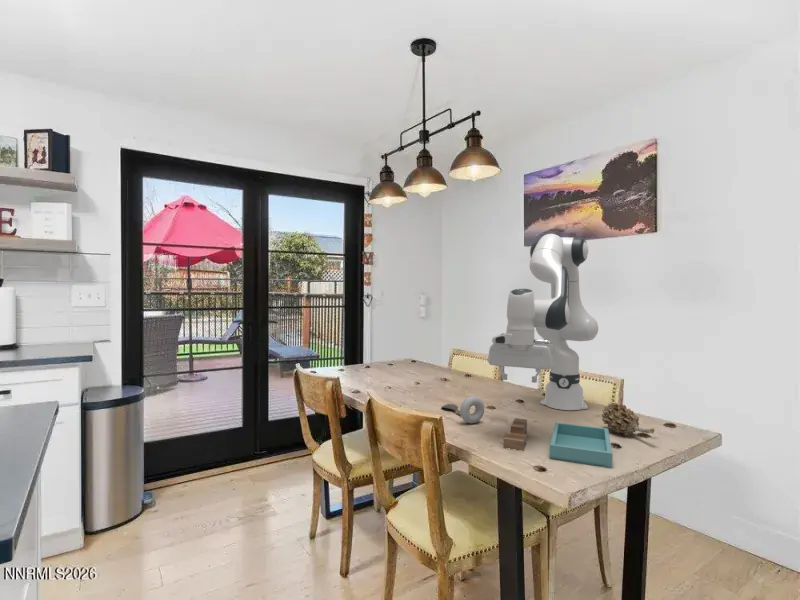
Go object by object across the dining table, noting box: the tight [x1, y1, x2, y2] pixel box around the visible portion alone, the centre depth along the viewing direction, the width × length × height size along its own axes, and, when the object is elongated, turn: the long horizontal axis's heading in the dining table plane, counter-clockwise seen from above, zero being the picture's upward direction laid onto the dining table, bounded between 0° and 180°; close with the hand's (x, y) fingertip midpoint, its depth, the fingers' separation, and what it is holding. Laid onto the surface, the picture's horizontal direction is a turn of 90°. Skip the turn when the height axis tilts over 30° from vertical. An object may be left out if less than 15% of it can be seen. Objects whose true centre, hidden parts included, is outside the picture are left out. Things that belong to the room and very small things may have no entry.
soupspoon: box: [440, 403, 460, 414], centre depth 176 cm, size 22×3×7 cm
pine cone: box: [601, 402, 656, 437], centre depth 152 cm, size 22×10×10 cm, turn 21°
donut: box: [459, 395, 485, 424], centre depth 164 cm, size 10×4×10 cm, turn 116°
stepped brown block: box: [503, 417, 528, 452], centre depth 146 cm, size 17×6×5 cm, turn 158°
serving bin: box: [549, 421, 613, 468], centre depth 139 cm, size 24×16×4 cm
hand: (519, 380), depth 147 cm, fingers open, 8 cm apart
